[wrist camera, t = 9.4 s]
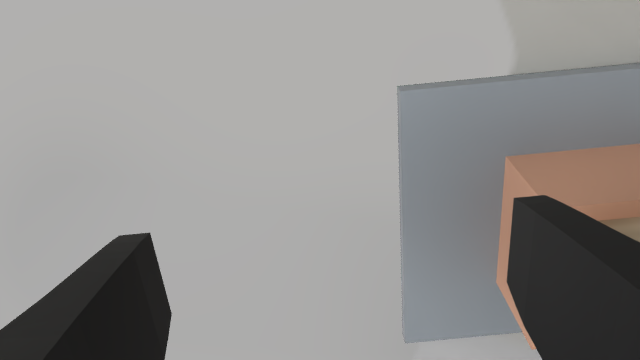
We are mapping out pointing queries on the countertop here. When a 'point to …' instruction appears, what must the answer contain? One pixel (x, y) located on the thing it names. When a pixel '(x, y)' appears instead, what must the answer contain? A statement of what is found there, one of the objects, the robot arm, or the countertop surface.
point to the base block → (570, 191)
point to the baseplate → (486, 180)
